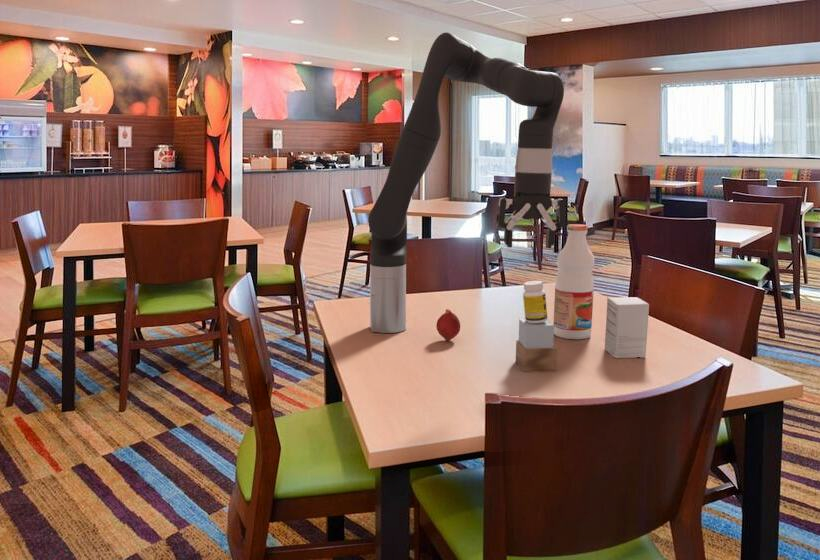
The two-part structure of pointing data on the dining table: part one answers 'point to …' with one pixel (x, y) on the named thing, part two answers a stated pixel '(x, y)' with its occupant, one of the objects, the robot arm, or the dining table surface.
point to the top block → (536, 334)
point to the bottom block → (536, 358)
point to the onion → (448, 325)
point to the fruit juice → (574, 286)
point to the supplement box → (626, 327)
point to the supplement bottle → (534, 302)
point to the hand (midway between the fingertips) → (528, 247)
